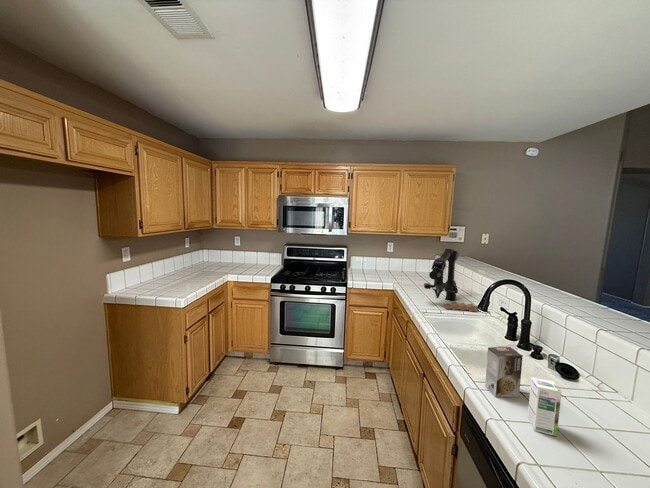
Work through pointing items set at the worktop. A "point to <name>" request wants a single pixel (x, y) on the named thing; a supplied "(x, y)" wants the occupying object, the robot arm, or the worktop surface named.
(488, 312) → the domino
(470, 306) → the domino
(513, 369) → the coffee box
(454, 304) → the domino
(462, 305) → the domino
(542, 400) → the syrup box
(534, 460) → the worktop surface
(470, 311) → the domino
